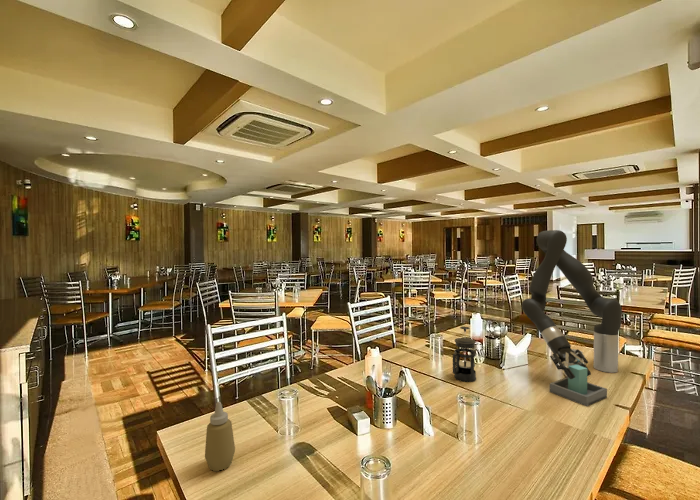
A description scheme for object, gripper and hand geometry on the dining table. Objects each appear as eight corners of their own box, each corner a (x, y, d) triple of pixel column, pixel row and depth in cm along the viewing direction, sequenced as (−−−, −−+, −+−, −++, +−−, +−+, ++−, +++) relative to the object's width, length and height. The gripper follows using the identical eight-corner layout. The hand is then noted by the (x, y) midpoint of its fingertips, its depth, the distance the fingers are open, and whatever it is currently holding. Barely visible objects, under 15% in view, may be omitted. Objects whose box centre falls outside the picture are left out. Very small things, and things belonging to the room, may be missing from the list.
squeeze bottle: (210, 457, 101) (208, 396, 101) (238, 455, 102) (236, 395, 101) (200, 476, 93) (198, 410, 93) (231, 473, 94) (229, 408, 93)
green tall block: (576, 388, 140) (576, 364, 139) (587, 393, 135) (587, 368, 135) (568, 390, 138) (568, 365, 138) (578, 395, 134) (578, 370, 134)
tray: (569, 384, 146) (569, 376, 146) (606, 397, 134) (607, 388, 134) (549, 391, 140) (549, 383, 139) (586, 406, 127) (587, 397, 127)
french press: (466, 372, 161) (466, 323, 160) (482, 379, 152) (482, 327, 152) (446, 376, 156) (446, 326, 155) (461, 384, 148) (461, 331, 147)
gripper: (547, 337, 141) (573, 375, 130) (573, 333, 145) (601, 370, 135) (537, 346, 146) (561, 383, 136) (562, 342, 150) (587, 378, 140)
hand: (581, 376), depth 135 cm, fingers open, 8 cm apart
